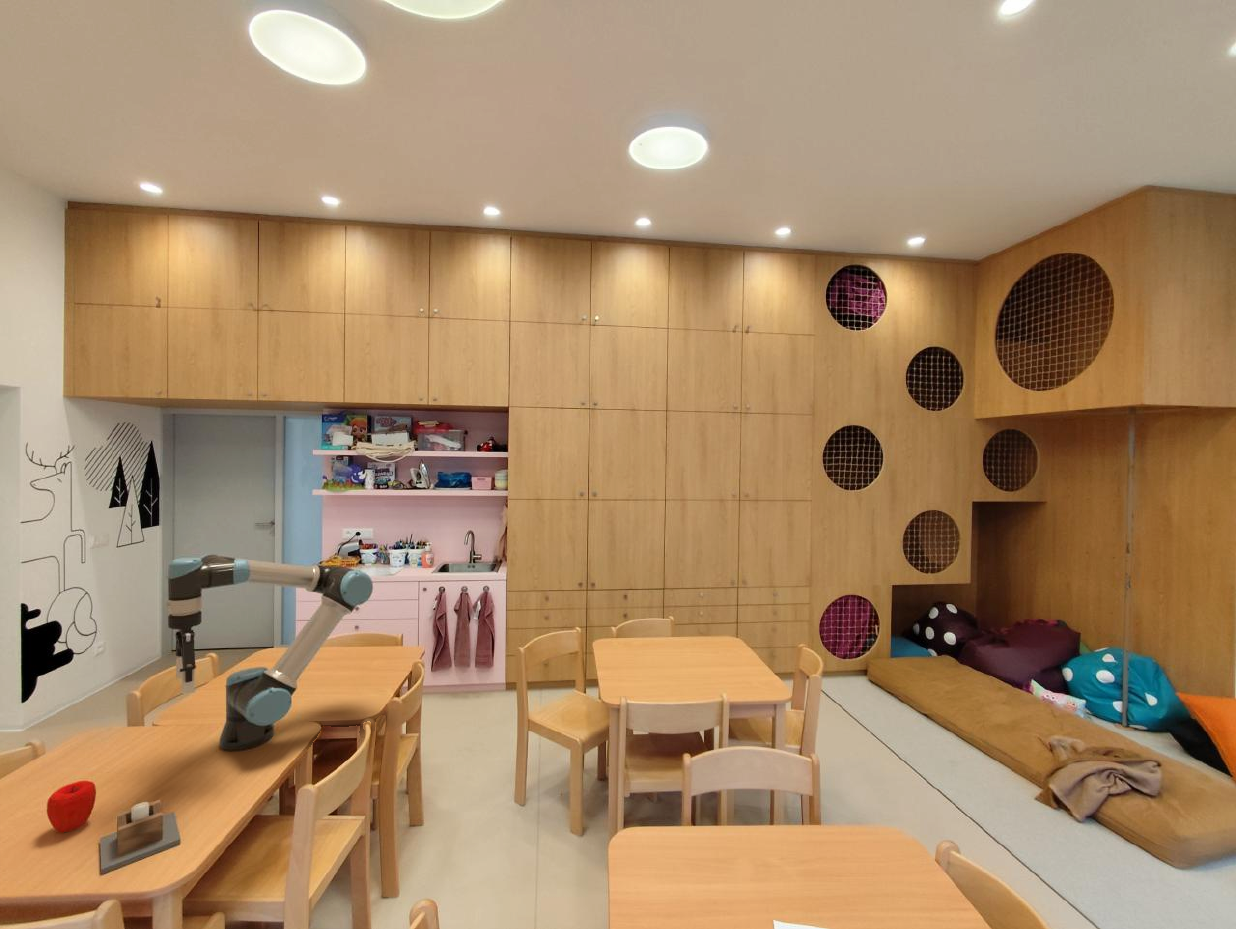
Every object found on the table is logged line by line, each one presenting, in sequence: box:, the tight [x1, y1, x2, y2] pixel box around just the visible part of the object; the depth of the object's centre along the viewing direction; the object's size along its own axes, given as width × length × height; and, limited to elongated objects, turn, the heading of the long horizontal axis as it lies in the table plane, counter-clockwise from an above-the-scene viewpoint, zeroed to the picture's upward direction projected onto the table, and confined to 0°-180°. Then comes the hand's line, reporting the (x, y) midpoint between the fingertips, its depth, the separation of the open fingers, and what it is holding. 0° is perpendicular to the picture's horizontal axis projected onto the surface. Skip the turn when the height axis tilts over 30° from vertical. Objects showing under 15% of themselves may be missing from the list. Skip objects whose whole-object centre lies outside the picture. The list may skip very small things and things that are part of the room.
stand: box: [99, 801, 181, 876], centre depth 131 cm, size 14×14×9 cm
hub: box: [116, 799, 164, 856], centre depth 131 cm, size 8×8×6 cm
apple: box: [46, 780, 97, 834], centre depth 136 cm, size 9×9×11 cm
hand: (185, 685), depth 155 cm, fingers open, 13 cm apart
